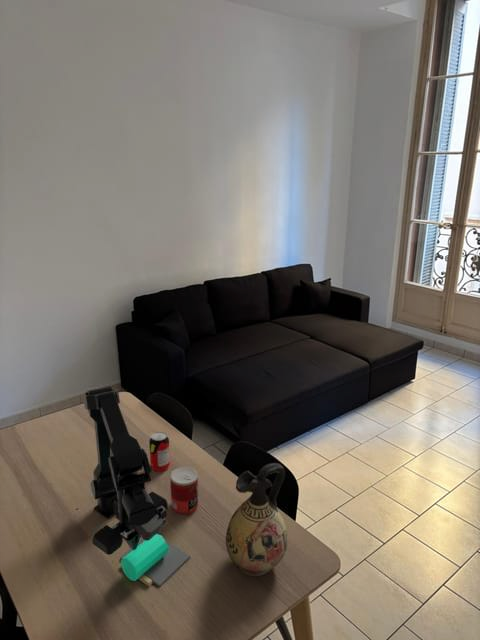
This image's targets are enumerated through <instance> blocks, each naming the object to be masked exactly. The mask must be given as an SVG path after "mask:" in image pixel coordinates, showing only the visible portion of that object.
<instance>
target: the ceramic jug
mask: <svg viewBox="0 0 480 640" xmlns="http://www.w3.org/2000/svg"><path fill="white" fill-rule="evenodd" d="M274 473H276V476H275V479H274V482H273V483H272V481H271V480H270V479H268V478H267V477H268V476H269V475H271V474H274ZM285 478H286V471H285V469H284V466H283V465H282V464H280V463H277V462H270V463H267V464H265V465H263V467H261V468H260V469H259V472H258V474H257V475H254V474H253V472H251V471H249V470H245V471H243V472H242V473H241V474H239V476H238V478H237V479H236V482H235V489H236V491H237V492H239V493H240V494H246V493H252V494H251V495H250V496H249V497H248V498H246V500H244V501H243V502H242V503H241V504H240V506H238V508H237V509H235V511H234V512H233V514H232V516H231V518H230V519H229V522H228V525H227V527H226V529H227V530H226V533H225V534H226V535H225V546H226V551H227V554H228V555H229V557H230V559H231V561H232V562H233V563H234V564H235V565H236V567H237V568H238V569H239V570H240V571H241V572H242V573H243V574H245V575H247V576H251V577H259V576H263V575H265V574H266V573H269V572H270V571H271V570H272V569H274V568H275V567H276V566H278V565H279V563H280V562H281V561H282V560H283V559H284V557H285V554H286V551H287V549H288V532H287V531H288V530H287V526H286V523H285V520H284V519H283V517H282V515H281V513H280V511H279V510H278V506H277V497H278V495H279V493H280V490H281V487H282V485H283V483H284V480H285ZM267 489H270V491H269V492H268V494H267V492H266V490H267Z"/></svg>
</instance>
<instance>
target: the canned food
mask: <svg viewBox="0 0 480 640" xmlns="http://www.w3.org/2000/svg"><path fill="white" fill-rule="evenodd" d="M198 475H199V474H198V472H197V471H196V470H195V469H194V468H192V467H185V466H180V467H177V468H176V469H173V470H172V471H171V473H170V477H169V478H170V479H169V480H170V501H171V503H170V504H171V508H172V509H173V511H174V512H175V513H177V514H180V515H190V514H192V513H194V512H195V511H196V510H197V508H198V506H199V484H198V483H199V477H198Z"/></svg>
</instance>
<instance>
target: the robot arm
mask: <svg viewBox="0 0 480 640" xmlns="http://www.w3.org/2000/svg"><path fill="white" fill-rule="evenodd" d="M82 398H83V399H82V401H83V405H84V408H85V410H87V412H88V415H89V417H90V418H91V419H92V420H93V422H94V432H95V442H96V453H97V461H98V463H97V465H96V467H95V468H94V470H93V471H92V472H93V473H92V474H93V479H92V480H91V482H90V489H91V490H90V491H91V493H92V496H93V499H94V500H95V501H96V500H97V505H96V506H94V507H93V510H94V511H95V512H97V513H98V514H99V515H101V516H103V517H104V518H106V519H110V518H111V517H112V516H114V515H115V519H116V520H119V521H118V523H116V524H114V525H113V526H109V524H105V525H104V526H103V527H102V528H100V529H98V531H95V533H93V534H92V536H91V540H92V545H94V546H95V547H97V549H99V550H100V551H102V552H103V553H104V554H106V555H109V556H110V555H112V554H113V553H115V552H116V551H118V550H119V549H120V548H121V547H122V545H123V543H124V541H125V542H126V544H127V545H128V547H130V549H132V550H135V549H137V546H138V543H139V542H140V541H141V537H142V539H144V540H146V541H148V540H150V539H151V538H152V537H153V536H154V535H156V534H159V533H160V532H161V528H162V526H163V525H165V524H166V523H167V520H166V518H167V517H168V515H167V514H168V513H167V511H168V500H167V498H165V497H163V496H161V495H159V494H157V492H154V491H150V492H149V493H148V490H147V489H146V486H145V483H148V482H151V481H152V479H151V473H152V468H151V463H150V459H149V458H148V454H147V452H146V451H145V449H144V448H141V445H140V443H139V441H138V439H137V438H135V437H134V436H132V435H130V432H129V430H128V427H127V424H126V422H125V419H124V417H123V414H122V410H121V408H120V405H119V404H120V403H121V399H120V394H119V389H116V388H115V389H113V388H112V386H110V385H109V386H103V387H99V388H94V389H90V390H86V392H85V394H84V395H83V397H82ZM142 470H143V472H141V473H140V472H139V471H142ZM123 540H124V541H123Z"/></svg>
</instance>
